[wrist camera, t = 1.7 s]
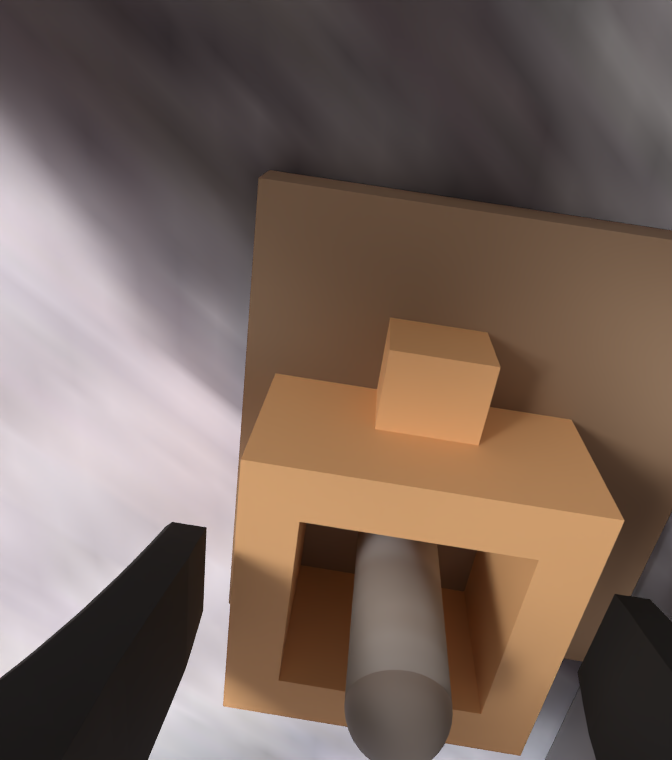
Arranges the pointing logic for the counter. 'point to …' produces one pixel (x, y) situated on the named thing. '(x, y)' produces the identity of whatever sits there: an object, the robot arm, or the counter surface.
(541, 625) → the ring
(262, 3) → the counter surface
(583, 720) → the tray
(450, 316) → the stake board
